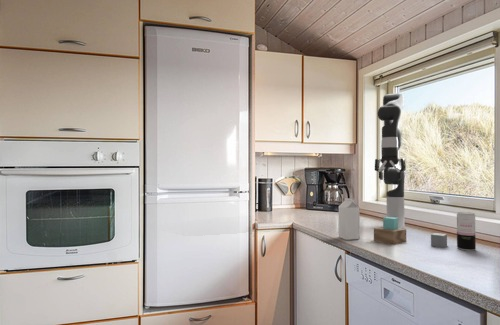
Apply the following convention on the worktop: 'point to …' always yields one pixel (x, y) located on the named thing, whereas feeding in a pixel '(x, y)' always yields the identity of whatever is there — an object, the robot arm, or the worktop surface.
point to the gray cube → (439, 240)
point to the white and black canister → (466, 231)
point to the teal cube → (390, 223)
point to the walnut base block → (390, 235)
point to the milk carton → (349, 220)
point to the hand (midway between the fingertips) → (389, 179)
